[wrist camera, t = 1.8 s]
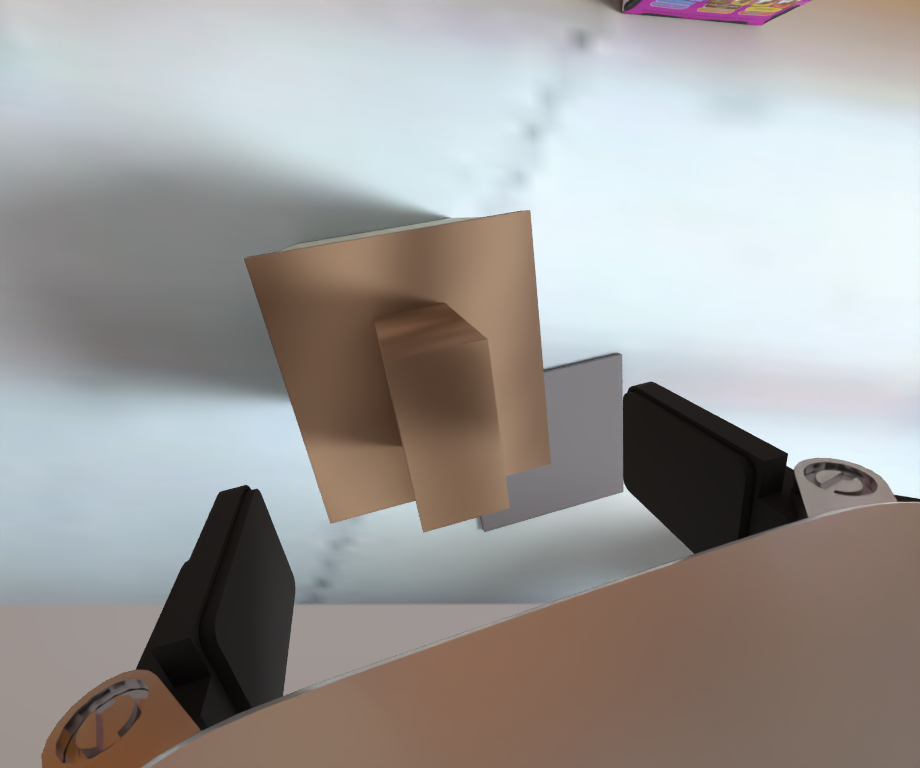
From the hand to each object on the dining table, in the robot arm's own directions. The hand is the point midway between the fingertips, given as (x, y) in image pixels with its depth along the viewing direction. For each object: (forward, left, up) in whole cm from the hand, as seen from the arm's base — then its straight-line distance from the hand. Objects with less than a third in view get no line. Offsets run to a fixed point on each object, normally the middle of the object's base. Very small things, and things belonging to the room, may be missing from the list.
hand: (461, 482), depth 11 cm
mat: (-11, +14, -23) cm, 29 cm away
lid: (0, 0, -10) cm, 10 cm away
